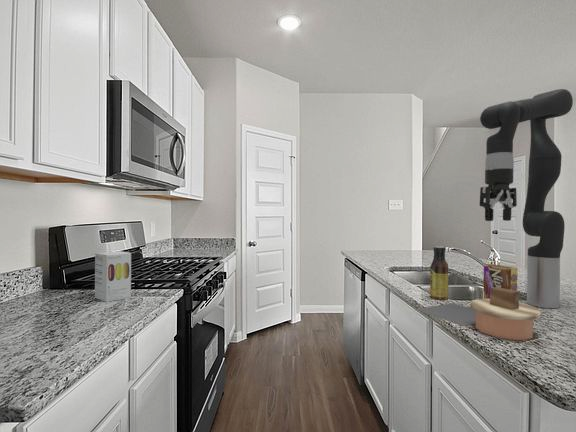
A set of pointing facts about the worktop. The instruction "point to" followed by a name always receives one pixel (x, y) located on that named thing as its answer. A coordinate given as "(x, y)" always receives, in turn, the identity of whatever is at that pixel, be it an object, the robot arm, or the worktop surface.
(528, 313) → the lid
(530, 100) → the robot arm
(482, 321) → the bowl
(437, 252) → the sauce bottle
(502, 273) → the candy box
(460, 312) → the mat
